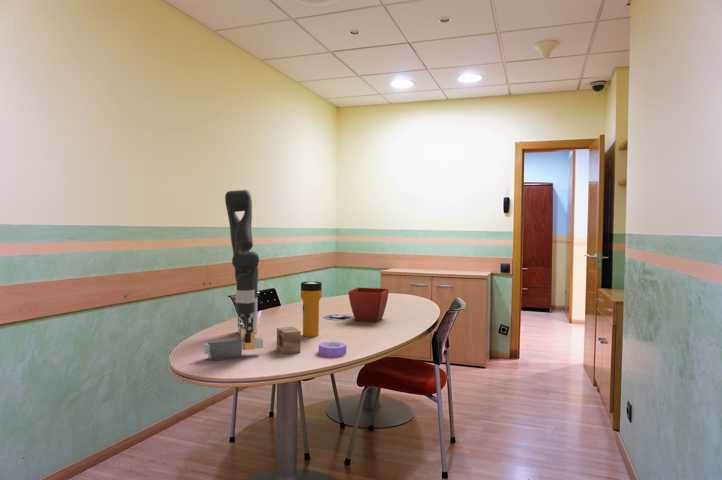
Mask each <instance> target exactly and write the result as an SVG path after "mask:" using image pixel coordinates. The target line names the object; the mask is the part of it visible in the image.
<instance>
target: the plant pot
mask: <svg viewBox="0 0 722 480" xmlns="http://www.w3.org/2000/svg"><path fill="white" fill-rule="evenodd" d="M389 291H390V289H389V288H378V287H377V288H375V287H356V288H353V289H351V290H349V291H348V298H349V303H350V308H351V312H352V315H353V318H354V320H355V321H356V322H357V321H358V322H369V323H370V322H372V323H377V322H379V321H380V320H382V319H383V316H384V315H385V311H386V308H387V303H388V297H389Z"/></svg>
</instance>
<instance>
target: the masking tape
mask: <svg viewBox="0 0 722 480" xmlns="http://www.w3.org/2000/svg"><path fill="white" fill-rule="evenodd" d="M347 346H348V345H347V343H345V342H341V341H333V340H331V341H323V342H319V344H318V355H320V356H323V357H330V358H332V357H334V358H335V357H336V358H337V357H343V356H345V355H346V354H347Z"/></svg>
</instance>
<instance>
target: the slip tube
mask: <svg viewBox="0 0 722 480" xmlns="http://www.w3.org/2000/svg"><path fill="white" fill-rule="evenodd" d="M248 330H249V329H248ZM255 334H256V333H255V329H253V333H251V342H250V343H245V330H244V329H243V327H241V338H240V339H241V340H242V351H251V350H255V349H256V350H257V349H264V339H263V338H262V337H256V335H255ZM255 337H256V338H255ZM203 353H204V354H205V355H208V354H210V353H211V344H210V343H208V342H205V343H203Z"/></svg>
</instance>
